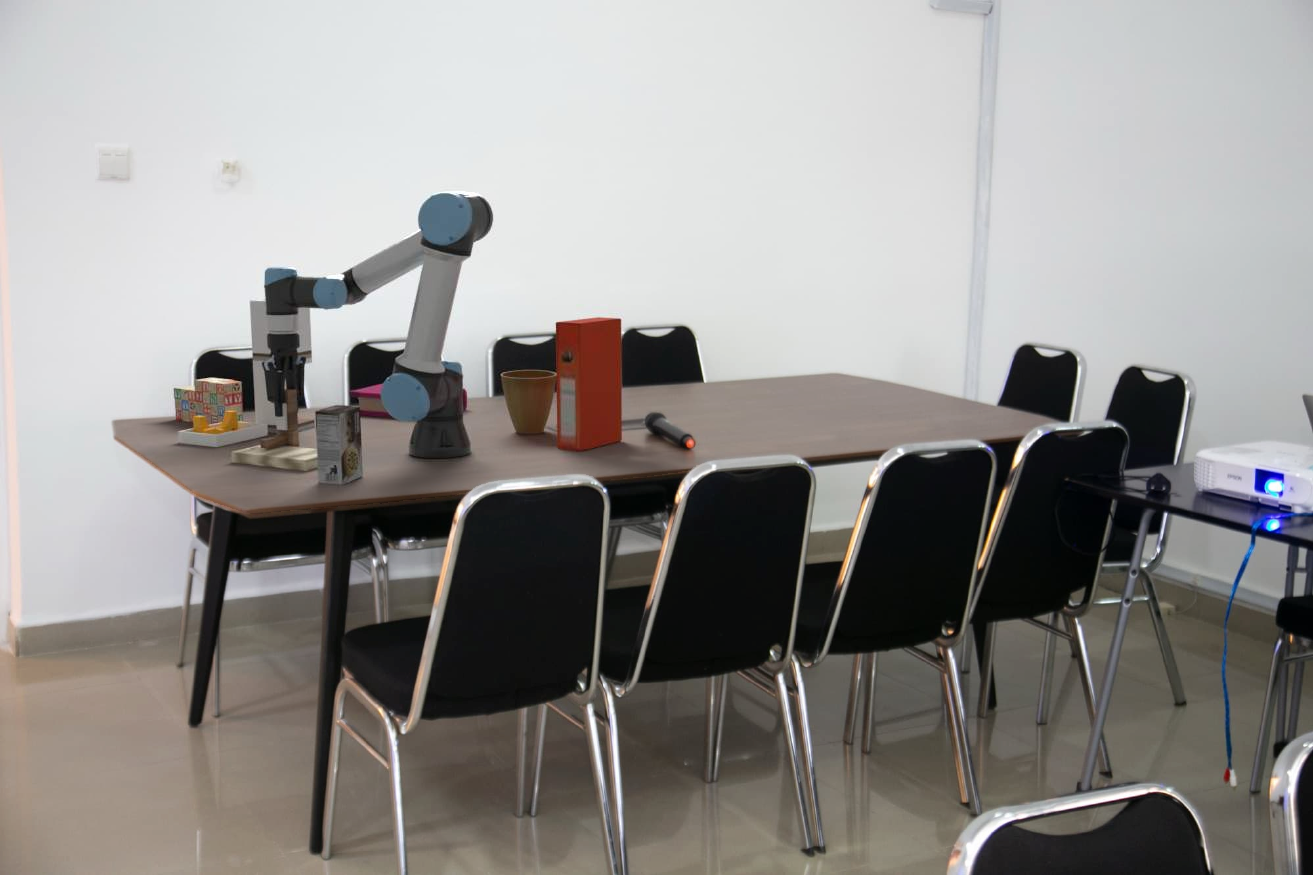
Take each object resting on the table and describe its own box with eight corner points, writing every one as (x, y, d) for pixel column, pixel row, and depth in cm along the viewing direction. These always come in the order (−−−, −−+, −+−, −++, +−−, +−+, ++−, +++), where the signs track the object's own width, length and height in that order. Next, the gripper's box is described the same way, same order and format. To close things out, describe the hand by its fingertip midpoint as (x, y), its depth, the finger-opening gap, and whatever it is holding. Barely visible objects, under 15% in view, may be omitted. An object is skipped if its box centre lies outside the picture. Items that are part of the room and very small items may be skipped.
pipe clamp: (205, 442, 327) (204, 417, 326) (194, 441, 329) (193, 416, 328) (242, 435, 337) (241, 411, 336) (231, 434, 339) (230, 410, 338)
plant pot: (496, 428, 349) (496, 370, 346) (549, 426, 354) (549, 369, 351) (507, 438, 335) (506, 378, 333) (562, 435, 340) (562, 376, 337)
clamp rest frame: (267, 435, 337) (267, 424, 336) (216, 447, 320) (216, 435, 320) (230, 431, 342) (230, 420, 341) (178, 442, 325) (178, 431, 325)
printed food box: (338, 474, 289) (335, 404, 286) (363, 476, 287) (361, 406, 284) (316, 483, 281) (313, 410, 278) (342, 485, 279) (340, 412, 276)
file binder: (556, 448, 323) (555, 321, 317) (596, 438, 337) (596, 316, 331) (581, 451, 319) (581, 323, 313) (621, 441, 333) (622, 318, 327)
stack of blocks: (175, 420, 359) (172, 377, 357) (193, 417, 365) (191, 374, 362) (225, 427, 348) (223, 383, 346) (244, 424, 353) (241, 380, 351)
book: (386, 405, 391) (385, 380, 390) (467, 410, 382) (467, 385, 380) (347, 415, 372) (346, 389, 370) (432, 421, 362) (431, 395, 361)
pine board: (339, 461, 304) (338, 451, 303) (306, 470, 293) (305, 460, 292) (266, 453, 313) (266, 443, 312) (231, 462, 302) (231, 451, 301)
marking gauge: (300, 452, 312) (298, 389, 309) (272, 459, 303) (269, 395, 300) (284, 450, 314) (281, 388, 311) (256, 457, 305) (253, 393, 302)
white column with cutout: (290, 433, 339) (284, 301, 333) (256, 431, 343) (249, 300, 336) (314, 426, 350) (309, 299, 344) (281, 424, 353) (275, 297, 347)
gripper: (293, 328, 315) (297, 422, 319) (247, 334, 300) (252, 432, 305) (317, 329, 312) (321, 424, 316) (272, 335, 297) (276, 435, 302)
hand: (287, 428), depth 310 cm, fingers closed on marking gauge, 3 cm apart
